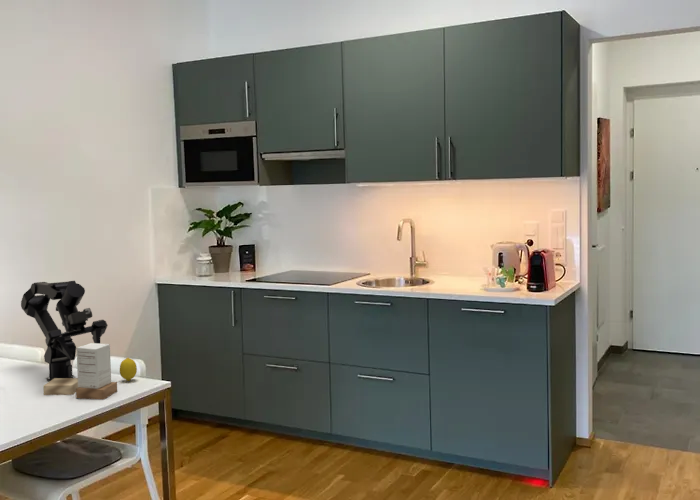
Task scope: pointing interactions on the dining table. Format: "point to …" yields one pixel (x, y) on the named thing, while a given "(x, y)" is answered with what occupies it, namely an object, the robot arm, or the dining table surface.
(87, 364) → the supplement box
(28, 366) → the dining table surface
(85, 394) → the walnut block
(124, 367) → the lemon
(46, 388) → the pale oak block
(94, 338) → the robot arm
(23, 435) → the dining table surface
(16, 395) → the dining table surface
